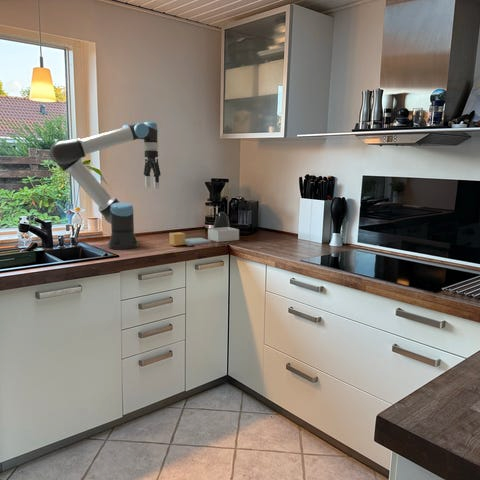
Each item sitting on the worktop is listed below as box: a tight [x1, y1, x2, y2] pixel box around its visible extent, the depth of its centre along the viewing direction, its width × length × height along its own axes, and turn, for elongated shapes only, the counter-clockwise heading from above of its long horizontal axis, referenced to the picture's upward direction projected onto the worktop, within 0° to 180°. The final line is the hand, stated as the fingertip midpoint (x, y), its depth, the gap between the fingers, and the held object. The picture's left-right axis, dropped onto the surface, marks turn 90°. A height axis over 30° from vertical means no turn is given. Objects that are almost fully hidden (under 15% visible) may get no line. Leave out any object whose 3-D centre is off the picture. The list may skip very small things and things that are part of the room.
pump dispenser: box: [213, 211, 231, 228], centre depth 273 cm, size 10×10×15 cm
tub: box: [207, 227, 240, 243], centre depth 256 cm, size 14×12×7 cm
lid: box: [169, 231, 212, 247], centre depth 245 cm, size 21×13×7 cm, turn 124°
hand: (152, 187), depth 253 cm, fingers open, 13 cm apart
